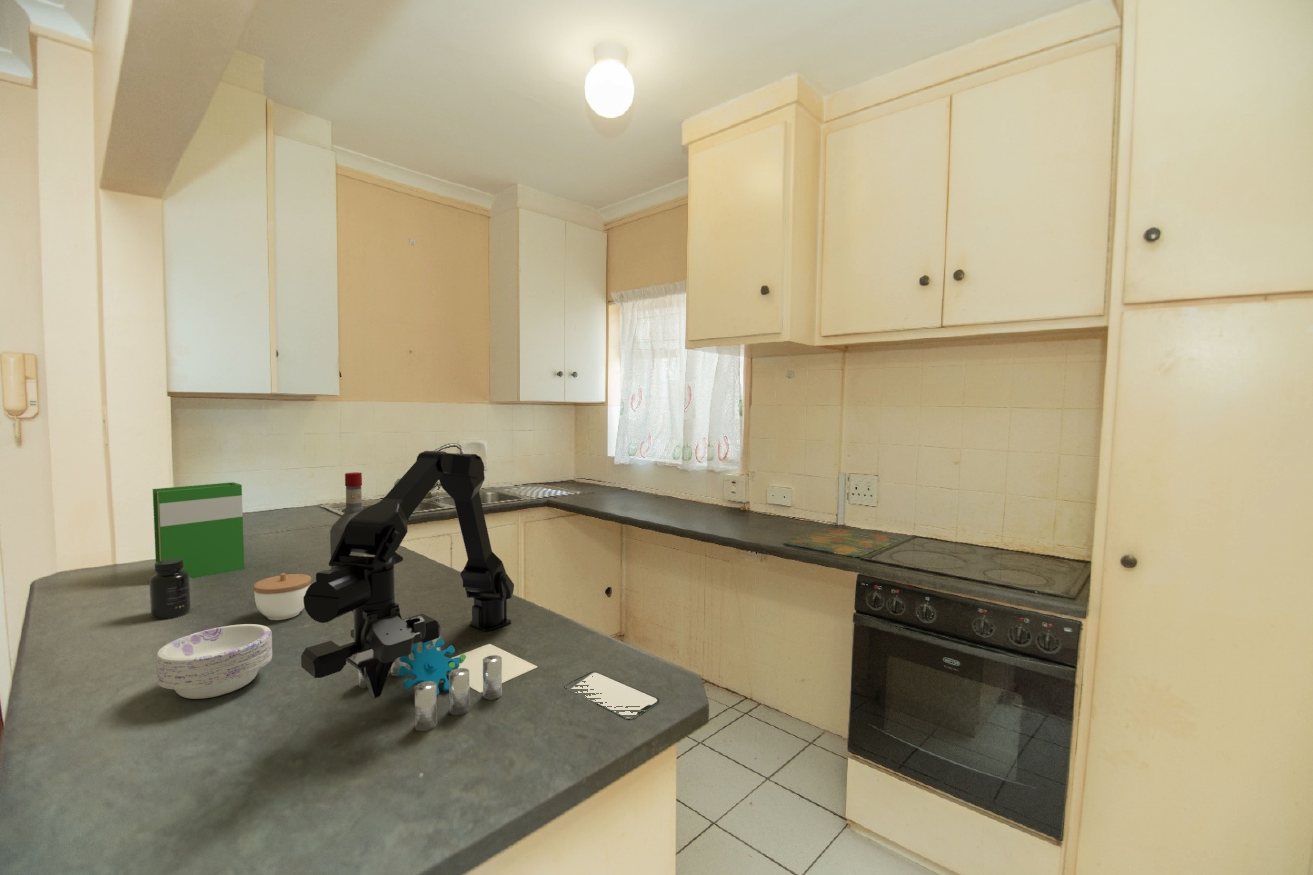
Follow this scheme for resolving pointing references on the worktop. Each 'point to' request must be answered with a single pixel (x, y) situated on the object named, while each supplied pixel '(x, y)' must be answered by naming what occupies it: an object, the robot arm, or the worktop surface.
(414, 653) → the gear
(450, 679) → the posts
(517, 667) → the pad
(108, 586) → the worktop surface
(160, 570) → the supplement bottle
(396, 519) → the robot arm
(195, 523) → the hardback book
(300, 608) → the lidded jar
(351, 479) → the liquor
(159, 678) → the paper bowls
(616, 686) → the smartphone
